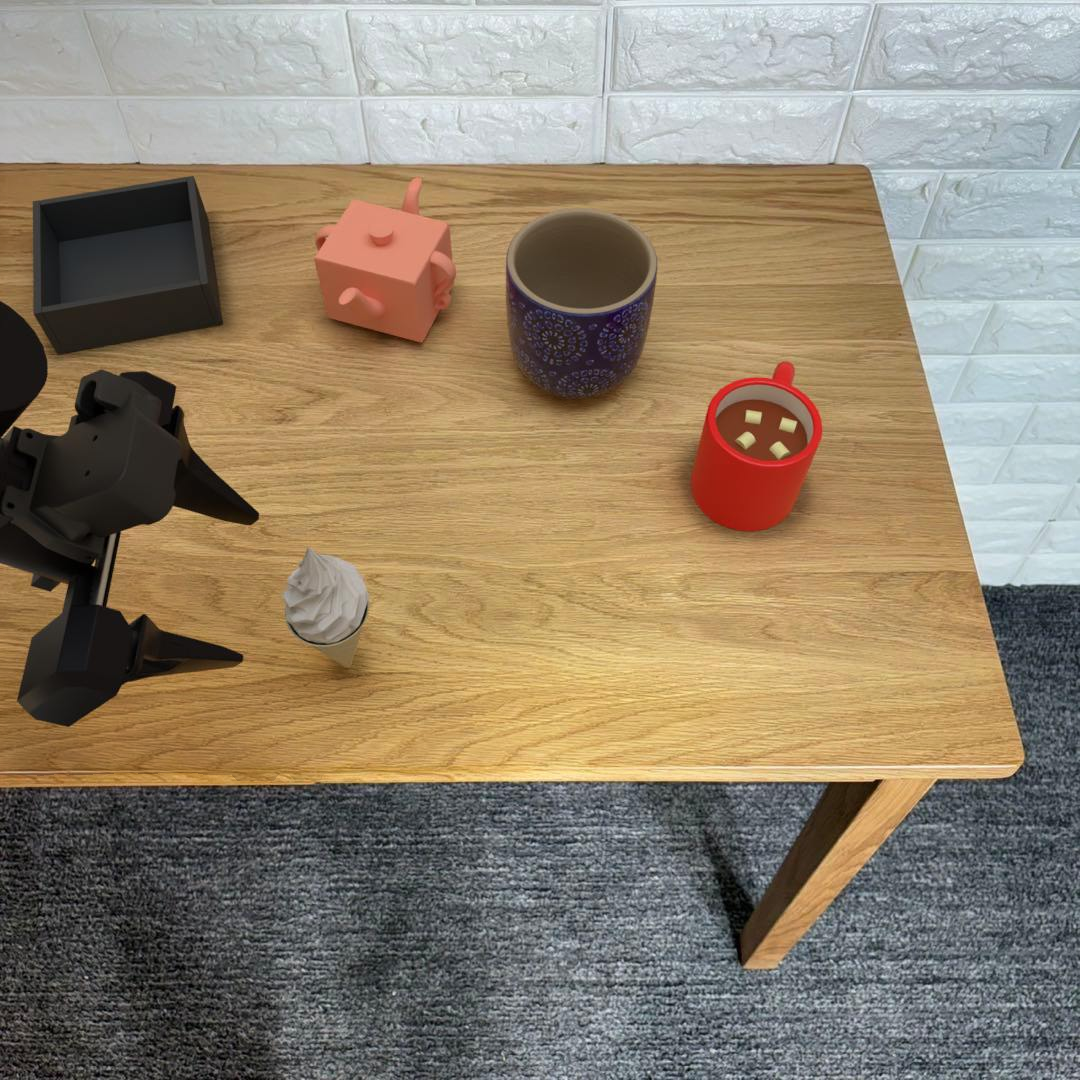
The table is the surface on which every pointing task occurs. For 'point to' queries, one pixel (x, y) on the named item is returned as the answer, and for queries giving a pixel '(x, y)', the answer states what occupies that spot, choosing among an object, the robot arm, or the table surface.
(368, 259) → the teapot
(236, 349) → the table surface
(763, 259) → the table surface
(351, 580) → the ice cream cone
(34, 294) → the storage bin
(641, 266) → the planter
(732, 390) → the mug
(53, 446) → the robot arm
